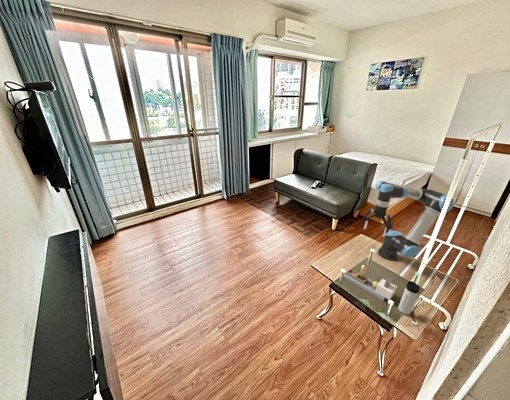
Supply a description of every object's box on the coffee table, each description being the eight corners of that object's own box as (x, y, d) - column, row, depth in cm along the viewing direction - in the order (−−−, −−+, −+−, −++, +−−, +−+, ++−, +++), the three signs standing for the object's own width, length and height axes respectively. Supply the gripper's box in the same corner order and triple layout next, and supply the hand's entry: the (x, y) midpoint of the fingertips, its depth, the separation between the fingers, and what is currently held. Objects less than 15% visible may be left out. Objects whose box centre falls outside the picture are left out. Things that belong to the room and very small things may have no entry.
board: (350, 270, 166) (351, 264, 164) (389, 292, 147) (392, 285, 145) (342, 277, 159) (344, 270, 157) (383, 301, 139) (385, 293, 137)
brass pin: (359, 277, 157) (363, 263, 153) (364, 280, 154) (368, 266, 150) (357, 279, 155) (361, 265, 150) (362, 282, 152) (366, 268, 148)
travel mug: (406, 307, 135) (417, 282, 128) (411, 316, 129) (422, 289, 122) (395, 305, 136) (405, 279, 130) (400, 314, 130) (410, 287, 123)
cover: (380, 285, 150) (383, 274, 146) (394, 293, 143) (398, 281, 140) (374, 291, 144) (378, 279, 140) (389, 300, 137) (393, 287, 134)
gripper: (361, 201, 159) (355, 227, 166) (399, 212, 141) (390, 241, 149) (366, 199, 163) (359, 224, 171) (403, 210, 146) (394, 237, 154)
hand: (374, 232), depth 160 cm, fingers open, 13 cm apart
